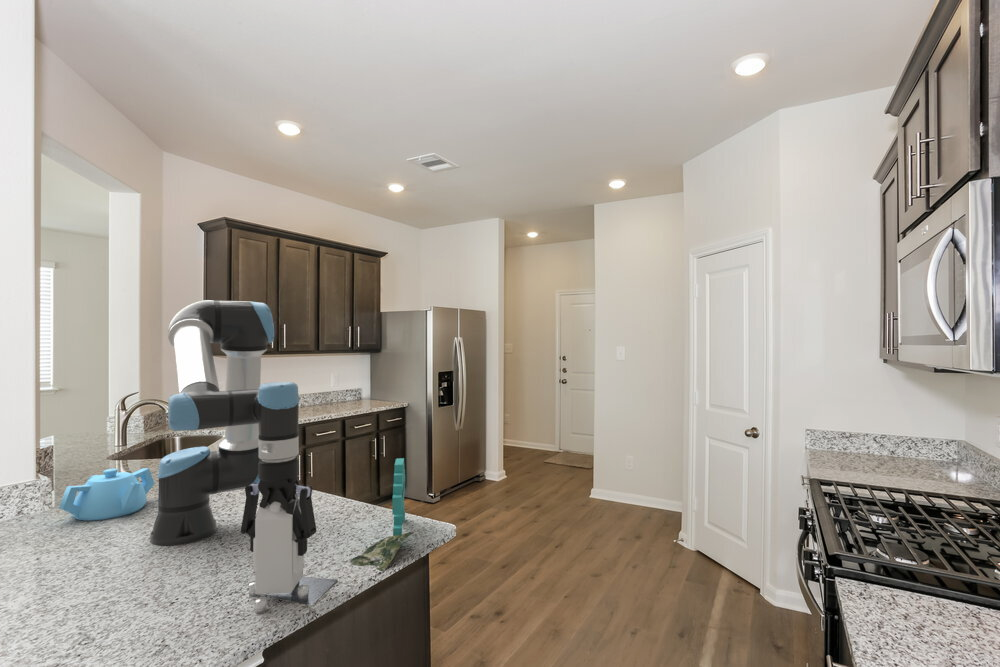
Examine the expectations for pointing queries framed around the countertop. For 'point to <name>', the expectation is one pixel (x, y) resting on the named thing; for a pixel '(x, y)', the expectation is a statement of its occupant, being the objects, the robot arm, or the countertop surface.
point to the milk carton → (275, 550)
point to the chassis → (296, 592)
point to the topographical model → (381, 552)
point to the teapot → (108, 495)
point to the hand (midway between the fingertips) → (278, 568)
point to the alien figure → (398, 496)
